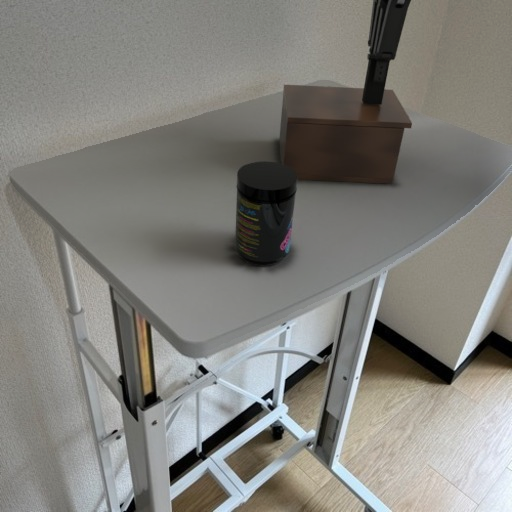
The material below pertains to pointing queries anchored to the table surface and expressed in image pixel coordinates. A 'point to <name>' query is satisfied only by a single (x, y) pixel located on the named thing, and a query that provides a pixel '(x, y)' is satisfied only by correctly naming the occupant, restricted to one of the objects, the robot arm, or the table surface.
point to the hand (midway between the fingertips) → (371, 102)
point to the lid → (342, 107)
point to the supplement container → (264, 212)
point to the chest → (340, 151)
